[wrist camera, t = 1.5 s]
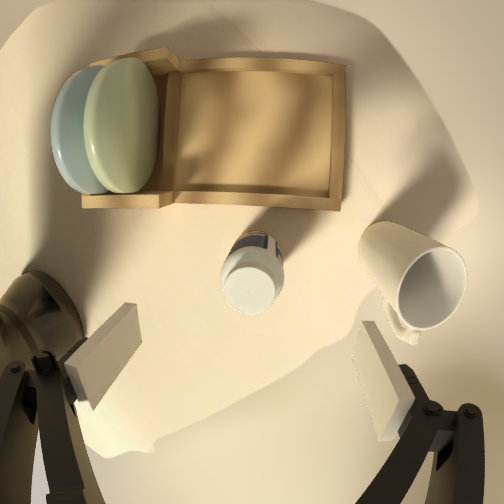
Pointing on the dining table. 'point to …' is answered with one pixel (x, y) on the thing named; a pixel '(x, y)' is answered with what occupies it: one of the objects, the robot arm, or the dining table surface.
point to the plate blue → (74, 132)
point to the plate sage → (122, 125)
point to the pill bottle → (253, 273)
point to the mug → (412, 277)
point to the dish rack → (242, 133)
